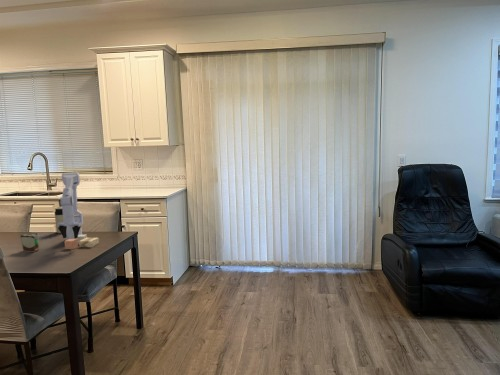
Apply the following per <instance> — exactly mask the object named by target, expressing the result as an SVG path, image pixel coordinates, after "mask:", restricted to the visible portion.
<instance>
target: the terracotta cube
mask: <svg viewBox="0 0 500 375" xmlns="http://www.w3.org/2000/svg"><path fill="white" fill-rule="evenodd" d="M78 247H79V244H78V243H77V239H68V240H64V249H65V250H74V249H76V248H78Z"/></svg>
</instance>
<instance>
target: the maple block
mask: <svg viewBox="0 0 500 375" xmlns="http://www.w3.org/2000/svg"><path fill="white" fill-rule="evenodd" d="M99 243H100V238H99V237H87V238H85V239H83V240H81V241H79V244H78V246H79V248H93V247H95V246H97V245H99Z"/></svg>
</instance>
